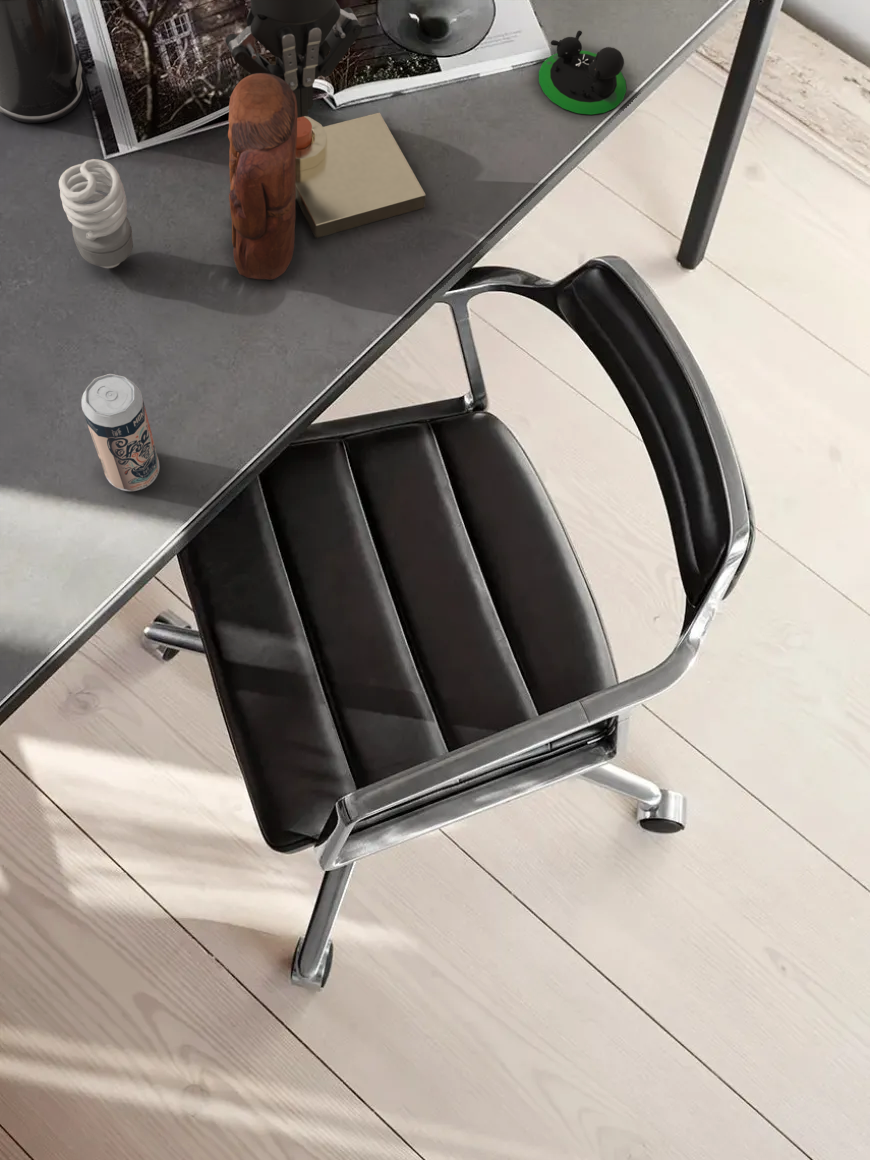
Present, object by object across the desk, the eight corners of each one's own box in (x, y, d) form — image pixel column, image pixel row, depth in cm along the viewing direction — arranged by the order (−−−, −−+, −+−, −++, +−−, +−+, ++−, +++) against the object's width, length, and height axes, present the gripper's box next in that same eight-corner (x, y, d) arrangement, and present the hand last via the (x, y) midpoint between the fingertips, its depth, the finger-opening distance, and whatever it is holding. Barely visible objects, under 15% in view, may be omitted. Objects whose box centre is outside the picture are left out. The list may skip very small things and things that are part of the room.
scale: (260, 149, 117) (259, 122, 114) (375, 119, 120) (376, 93, 117) (306, 241, 113) (306, 216, 109) (424, 208, 116) (427, 183, 113)
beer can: (139, 503, 99) (116, 429, 88) (94, 477, 99) (66, 402, 89) (171, 463, 101) (152, 386, 90) (126, 438, 101) (103, 359, 90)
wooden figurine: (239, 191, 114) (225, 40, 98) (302, 196, 115) (299, 47, 99) (228, 283, 110) (212, 141, 93) (294, 288, 110) (289, 147, 94)
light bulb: (129, 292, 108) (108, 202, 97) (72, 280, 108) (44, 188, 97) (147, 248, 110) (128, 155, 100) (91, 236, 110) (66, 141, 100)
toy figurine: (580, 37, 128) (591, -8, 123) (644, 88, 126) (659, 44, 121) (519, 75, 125) (529, 30, 120) (584, 128, 122) (597, 84, 117)
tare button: (277, 132, 114) (277, 118, 113) (305, 125, 115) (305, 111, 113) (288, 153, 113) (288, 140, 111) (316, 146, 114) (316, 132, 112)
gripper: (348, -95, 98) (345, 70, 113) (201, -66, 94) (219, 100, 110) (381, -39, 95) (373, 122, 111) (231, -7, 92) (246, 155, 107)
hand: (296, 111), depth 110 cm, fingers closed
